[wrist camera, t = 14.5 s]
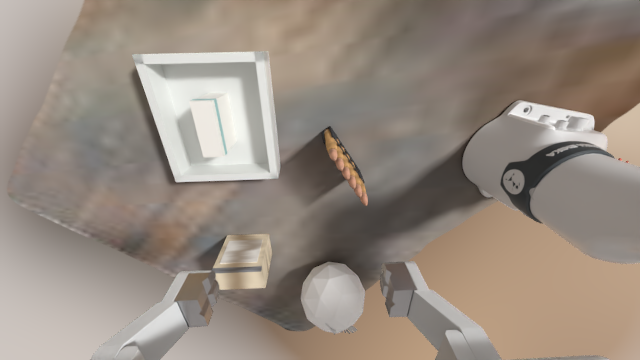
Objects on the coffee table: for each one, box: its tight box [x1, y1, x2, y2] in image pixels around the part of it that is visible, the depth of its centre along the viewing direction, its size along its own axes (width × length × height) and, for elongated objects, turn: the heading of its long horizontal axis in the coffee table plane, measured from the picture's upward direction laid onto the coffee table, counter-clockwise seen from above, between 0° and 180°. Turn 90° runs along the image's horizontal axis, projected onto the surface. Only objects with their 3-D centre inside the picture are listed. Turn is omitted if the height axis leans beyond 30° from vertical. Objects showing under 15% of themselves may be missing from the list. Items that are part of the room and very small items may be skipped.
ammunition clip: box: [322, 126, 368, 206], centre depth 39 cm, size 11×2×12 cm, turn 34°
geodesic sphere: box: [301, 262, 365, 334], centre depth 53 cm, size 15×14×14 cm
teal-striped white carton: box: [189, 93, 236, 157], centre depth 37 cm, size 3×8×7 cm, turn 1°
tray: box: [132, 51, 281, 182], centre depth 39 cm, size 17×19×5 cm
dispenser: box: [212, 234, 272, 290], centre depth 50 cm, size 9×6×10 cm
